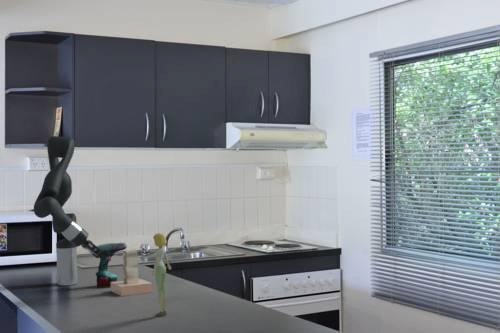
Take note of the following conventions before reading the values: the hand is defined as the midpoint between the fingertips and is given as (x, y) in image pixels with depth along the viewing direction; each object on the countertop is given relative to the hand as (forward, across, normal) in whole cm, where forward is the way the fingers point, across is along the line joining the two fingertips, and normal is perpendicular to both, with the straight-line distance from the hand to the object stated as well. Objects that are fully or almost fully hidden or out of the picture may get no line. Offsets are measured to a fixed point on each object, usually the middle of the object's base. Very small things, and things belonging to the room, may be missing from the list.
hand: (101, 257), depth 299 cm
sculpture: (+15, -53, +7) cm, 55 cm away
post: (+17, -1, 0) cm, 17 cm away
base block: (+20, -1, +2) cm, 20 cm away
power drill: (+18, +18, +5) cm, 26 cm away
